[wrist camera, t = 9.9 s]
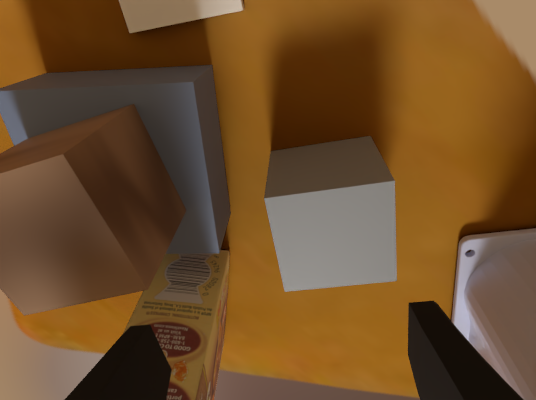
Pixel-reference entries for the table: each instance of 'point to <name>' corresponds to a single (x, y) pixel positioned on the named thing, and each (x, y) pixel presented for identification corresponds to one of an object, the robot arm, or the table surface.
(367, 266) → the grey cube
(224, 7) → the tile
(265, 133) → the table surface
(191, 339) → the candy box
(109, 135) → the walnut cube
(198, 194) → the base block
